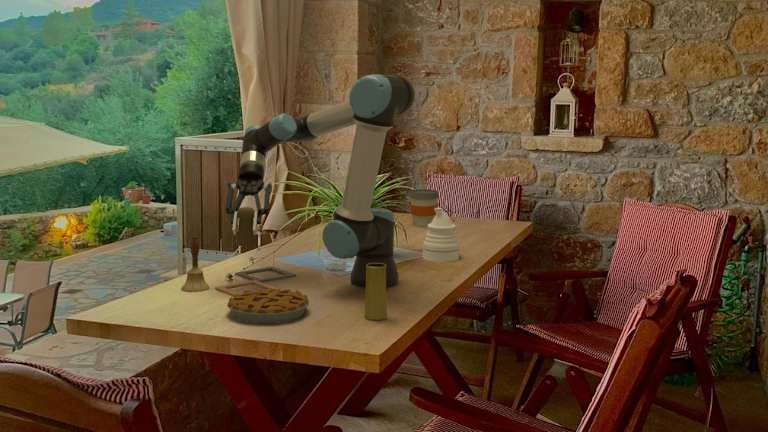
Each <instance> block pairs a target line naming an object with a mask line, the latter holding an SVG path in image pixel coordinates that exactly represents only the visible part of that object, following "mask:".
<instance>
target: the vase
mask: <svg viewBox="0 0 768 432" xmlns="http://www.w3.org/2000/svg"><path fill="white" fill-rule="evenodd" d="M364 300H365V301H364V319H366V320H370V321H382V320H385V319H387V318H388V313H387V312H388V311H387V303H388V301H387V287H386V264H383V263H369V264H367V265H366V287H365V299H364Z"/></svg>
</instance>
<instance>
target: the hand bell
mask: <svg viewBox="0 0 768 432" xmlns="http://www.w3.org/2000/svg"><path fill="white" fill-rule="evenodd" d="M189 245H190V248H189V250H190V253H191V258H192V259H191V260H192V262H191V269H188V270H187V274H186V275H187V276H186V280H185V282H184V283H183V285H182V286H181V288H180V289H181V290H182V291H184V292H189V291H190V292H191V293H194V292H196V293H197V292H198V291H199V292H203V291H208V290H209V289H210V286H209V284H208V283H207V282H206V280H205V277H204V272H203V269H200V268H199V262H198V261H199V260H198V258H199V252H200V242H199V239H198V236H197V235H193V236H192V237H191V241H190V244H189ZM192 291H193V292H192ZM190 292H189V293H190Z"/></svg>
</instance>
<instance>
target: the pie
mask: <svg viewBox="0 0 768 432" xmlns="http://www.w3.org/2000/svg"><path fill="white" fill-rule="evenodd" d="M227 302H228V303H227V305H226V306H227V308H229V310H230V311H231V313H232V316H233V315H234V316H233V317H234V318H235V319H236V320H237V319H239V320H238V321H241V320H243V321H242V322H245V321H248V322H247V323H252V322H258V323H257V324H277V323H276V322H280V323H286V322H285V321H288V322H291V321H294V320H296V318H297V319H298V318H300V317H301V316H303V314H304V312H305V310H306V308H307V307H308V306H309V304H310V299H308V296H307V294H303V293H302V292H300V291H299V290H296V291H292V290H291V289H284V290H282V289H280V290H277V289H272V288H271V289H270V290H267V289H263V288H262V289H261V288H260V289H256V290H253V291H251V290H244V291H243V292H242V293H240V294H235V295H234V297H233V296H231V297H230V298H229V299H228V301H227ZM293 319H294V320H293ZM290 320H291V321H290Z"/></svg>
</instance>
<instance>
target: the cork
mask: <svg viewBox="0 0 768 432" xmlns="http://www.w3.org/2000/svg"><path fill="white" fill-rule="evenodd" d="M255 212H256V211H255V209H254V208H253V207H250V206H249V207H248V206H243V207H240V208H239V209H238V211H237V216H238V225H237V233H236V235H237V236H236V246H238V247H253V246H254V247H255V246H257V245H258V241H257V234H256V235H254V234H253V223H254V214H255Z"/></svg>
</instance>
